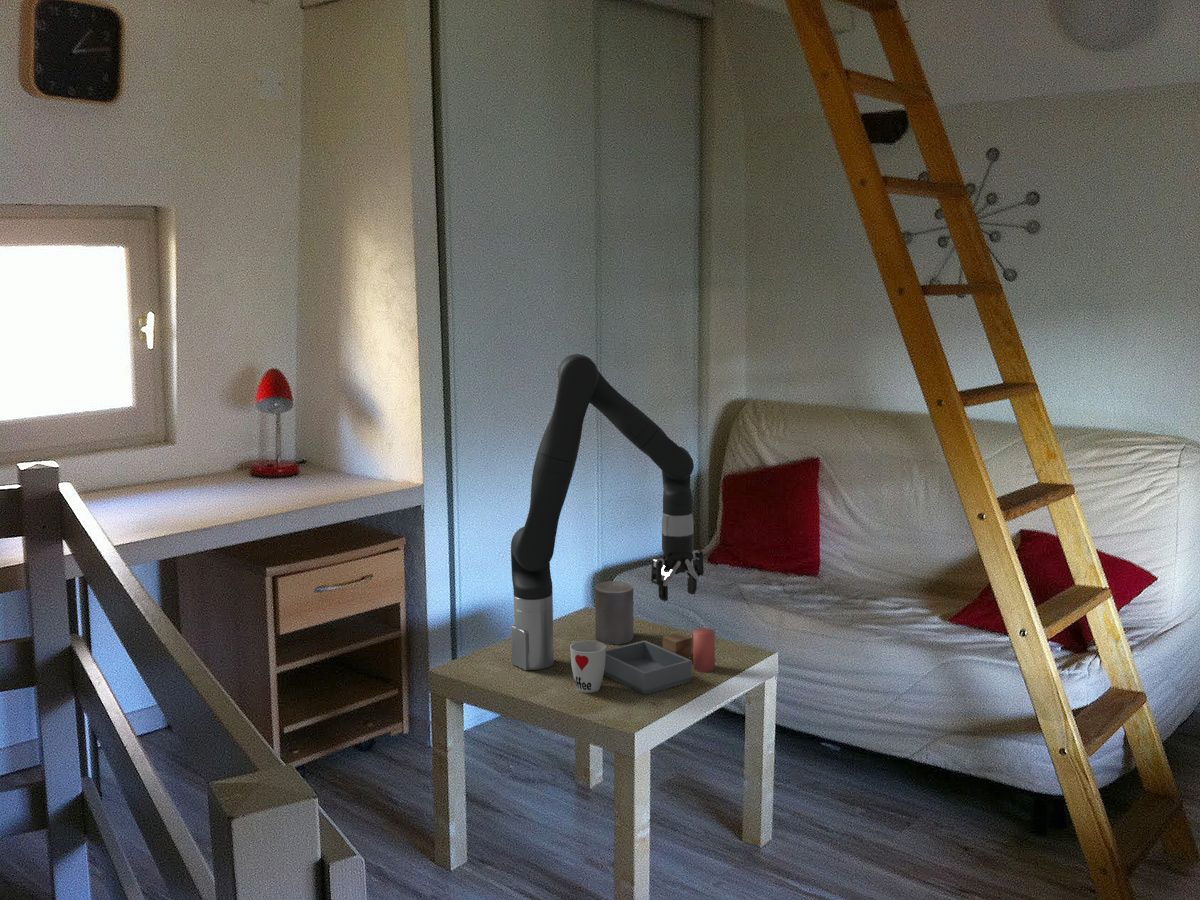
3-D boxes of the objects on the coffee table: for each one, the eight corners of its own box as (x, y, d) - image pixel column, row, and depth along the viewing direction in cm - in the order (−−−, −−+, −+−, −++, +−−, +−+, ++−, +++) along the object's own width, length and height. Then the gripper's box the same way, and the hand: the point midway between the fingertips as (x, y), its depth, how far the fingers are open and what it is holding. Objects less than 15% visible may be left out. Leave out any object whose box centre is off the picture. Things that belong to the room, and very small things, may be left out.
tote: (644, 695, 274) (644, 673, 274) (598, 672, 288) (598, 652, 288) (691, 681, 282) (691, 660, 281) (644, 660, 296) (644, 640, 295)
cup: (563, 687, 279) (562, 645, 278) (592, 679, 284) (591, 637, 282) (584, 698, 273) (584, 655, 271) (613, 689, 278) (613, 647, 276)
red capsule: (702, 673, 287) (702, 636, 285) (689, 667, 291) (689, 631, 289) (719, 669, 290) (719, 632, 288) (705, 663, 294) (705, 626, 292)
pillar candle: (588, 635, 314) (588, 579, 311) (622, 629, 319) (621, 573, 316) (607, 647, 306) (606, 589, 303) (641, 640, 310) (640, 583, 307)
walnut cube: (675, 662, 295) (675, 642, 294) (662, 656, 299) (662, 636, 298) (691, 657, 298) (691, 637, 297) (678, 652, 302) (678, 632, 301)
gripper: (690, 523, 300) (690, 588, 302) (644, 532, 291) (644, 598, 294) (710, 529, 294) (710, 595, 296) (663, 539, 285) (664, 606, 288)
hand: (677, 596), depth 295 cm, fingers open, 8 cm apart
